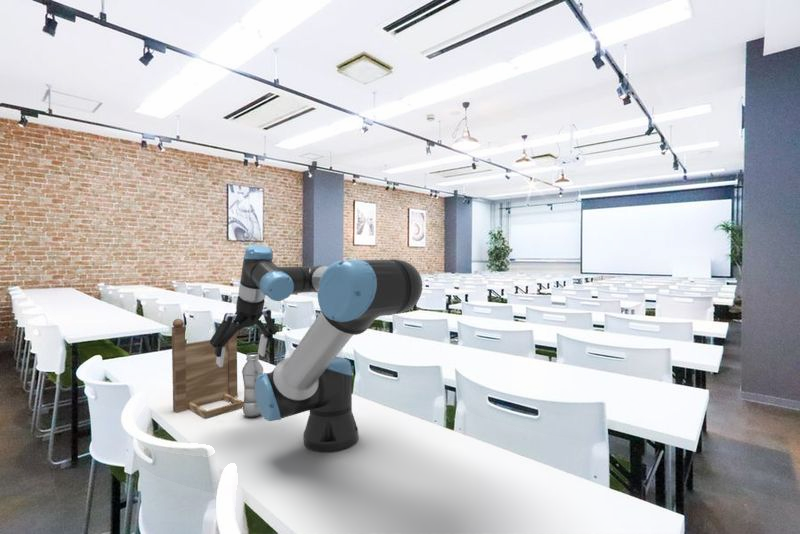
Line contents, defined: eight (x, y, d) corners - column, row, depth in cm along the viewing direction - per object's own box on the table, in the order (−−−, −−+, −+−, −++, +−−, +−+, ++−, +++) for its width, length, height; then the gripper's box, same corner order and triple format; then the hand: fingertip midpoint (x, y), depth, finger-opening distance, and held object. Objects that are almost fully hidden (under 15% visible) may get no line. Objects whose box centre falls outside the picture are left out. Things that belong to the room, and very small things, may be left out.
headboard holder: (255, 404, 144) (254, 316, 143) (191, 422, 128) (190, 323, 127) (233, 394, 154) (232, 312, 153) (172, 410, 138) (171, 318, 137)
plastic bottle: (257, 420, 130) (257, 356, 129) (238, 418, 131) (237, 355, 131) (268, 412, 136) (267, 352, 135) (249, 410, 137) (248, 351, 137)
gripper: (281, 287, 132) (270, 344, 138) (202, 296, 113) (193, 362, 119) (294, 297, 127) (282, 356, 134) (215, 308, 108) (205, 376, 115)
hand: (240, 359), depth 126 cm, fingers open, 13 cm apart
